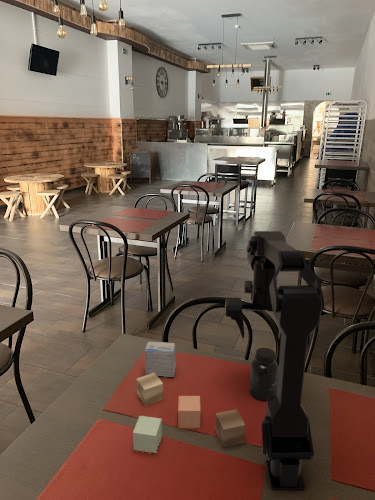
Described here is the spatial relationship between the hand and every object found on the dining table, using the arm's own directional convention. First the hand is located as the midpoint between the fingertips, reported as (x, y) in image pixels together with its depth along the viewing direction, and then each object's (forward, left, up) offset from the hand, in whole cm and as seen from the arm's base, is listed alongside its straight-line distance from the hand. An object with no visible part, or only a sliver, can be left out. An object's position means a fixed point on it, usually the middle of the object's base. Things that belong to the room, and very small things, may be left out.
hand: (261, 338), depth 100 cm
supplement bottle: (-3, -1, -15) cm, 15 cm away
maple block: (-5, +28, -15) cm, 32 cm away
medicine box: (+5, +26, -15) cm, 31 cm away
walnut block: (-18, +9, -15) cm, 25 cm away
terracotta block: (-13, +18, -15) cm, 27 cm away
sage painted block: (-20, +27, -15) cm, 37 cm away
